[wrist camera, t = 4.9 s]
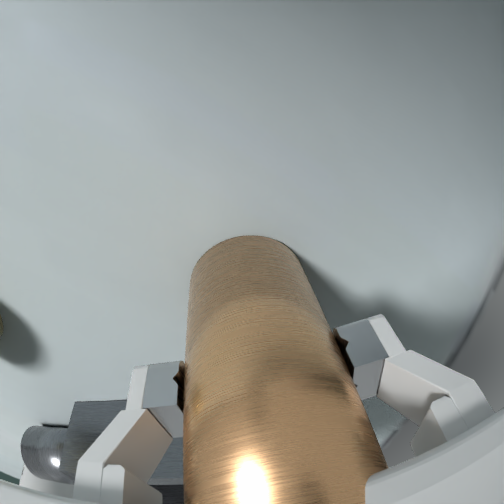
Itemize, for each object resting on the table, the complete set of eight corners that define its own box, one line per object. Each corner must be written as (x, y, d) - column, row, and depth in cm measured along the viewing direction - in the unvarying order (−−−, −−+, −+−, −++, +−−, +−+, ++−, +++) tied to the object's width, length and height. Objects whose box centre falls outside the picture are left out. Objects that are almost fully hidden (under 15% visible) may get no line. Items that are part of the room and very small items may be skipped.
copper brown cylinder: (174, 250, 11) (146, 580, 2) (297, 223, 11) (446, 526, 2) (207, 337, 13) (223, 579, 4) (307, 316, 13) (389, 546, 4)
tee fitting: (15, 400, 15) (-5, 456, 11) (195, 392, 15) (196, 477, 11) (74, 453, 19) (65, 501, 15) (230, 450, 19) (236, 510, 15)
